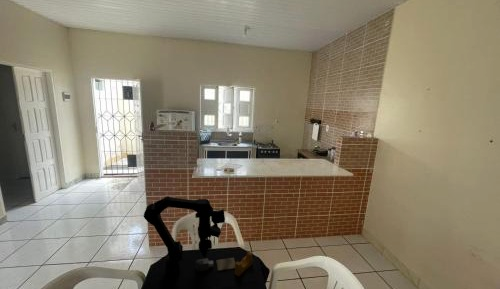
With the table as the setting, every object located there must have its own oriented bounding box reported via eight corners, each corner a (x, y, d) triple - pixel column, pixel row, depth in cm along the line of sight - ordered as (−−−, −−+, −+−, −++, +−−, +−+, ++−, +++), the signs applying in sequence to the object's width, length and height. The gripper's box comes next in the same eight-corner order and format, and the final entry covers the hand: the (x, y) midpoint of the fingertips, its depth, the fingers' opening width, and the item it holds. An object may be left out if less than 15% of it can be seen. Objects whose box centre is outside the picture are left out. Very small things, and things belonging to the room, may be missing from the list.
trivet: (217, 271, 114) (218, 270, 114) (216, 260, 121) (216, 260, 121) (236, 268, 116) (236, 267, 116) (233, 258, 124) (233, 257, 124)
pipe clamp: (246, 260, 123) (246, 250, 122) (252, 264, 120) (252, 253, 119) (232, 272, 113) (232, 261, 112) (238, 276, 111) (239, 265, 110)
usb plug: (195, 271, 113) (195, 265, 112) (195, 266, 116) (195, 259, 116) (213, 269, 115) (213, 262, 114) (212, 264, 119) (212, 257, 118)
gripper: (222, 232, 105) (221, 261, 107) (217, 214, 123) (217, 239, 125) (199, 234, 102) (198, 264, 104) (197, 215, 120) (197, 241, 122)
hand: (204, 251), depth 114 cm, fingers open, 9 cm apart
